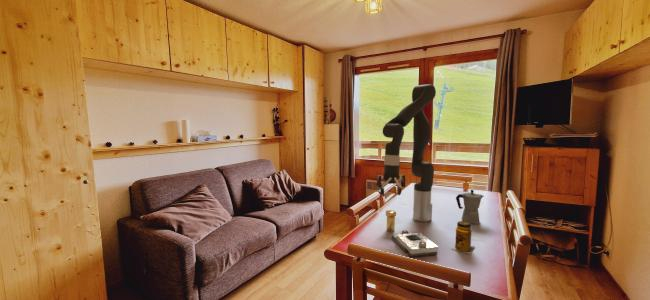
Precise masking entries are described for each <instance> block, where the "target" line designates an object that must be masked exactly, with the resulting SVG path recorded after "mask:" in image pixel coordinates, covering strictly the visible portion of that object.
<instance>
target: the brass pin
mask: <svg viewBox="0 0 650 300" xmlns="http://www.w3.org/2000/svg"><path fill="white" fill-rule="evenodd" d="M385 216H386V232H388V233H394V232H395V228H396V227H395V225H396V221H395V220H396V216H397V212H396V211H395V210H392V209H391V210H385Z"/></svg>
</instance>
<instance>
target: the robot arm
mask: <svg viewBox="0 0 650 300" xmlns="http://www.w3.org/2000/svg"><path fill="white" fill-rule="evenodd" d="M436 90H437V89H436V87H435V86H434V85H433V84H431V83H429V84H428V83H427V84H420V85H415V86H414V87H413V89H412V92H411V101H412V102H410V103H409V104H408V105H406V106H405V107H404V108H401V110H400V112H399V113H398V114H397V115H396V116H394V117H393V118H392V119H390V120H389V121H388V122H386V123H385V124H384V126H383V128H382V135H383V136H384V137H385V138H389V139H390V138H391V139H392V140H391V141H389V142H387V143H385V146H384V147H385V148H384V149H385V151H384V158H383V160H384V161H383V162H384V163H383V175H380V174H378V175H377V178H376V187H377V188H380V190H379V191H380V192H379V193H380V195H381V196H385V187H386V186H387V185H388V184H389V185H392V184H394V185H396V186H397V189H396V194H397V196H401V194H402V188H404V187H406V175H405V174H403V173H402V174H400V163H401V162H400V161H401V158H400V152H401V151H400V150H401V145H402V141H403V139H404V136H405V128H404V127H407V126H408V125H409V123H410V122H411V121H413V130H412V131H413V134H412V136H413V137H412V139H413V142H412V143H413V146H412V148H413V149H412V158H411V159H412V160H411V173H412V175H413V176H414V177H417V178H420V182H417V183H415V184H414V185H413V205H412V206H413V208H412V209H413V214H412V219H413V220H414V221H417V222H421V223H423V222H425V223H428V222H429V221H432V219H433V218H432V217H433V203H431V202H432V187H433V184H434V178H435V177H434V176H435V168H434V165H433V163H432V162H430V161H429V162H427V161H424V153H425V150H426V148H427V146H428V144H429V143H430V141H431V138H432V127H431V123H430V121H429V119H428V117H427V116H426V114H425V112H424V108H425V107H426V106H427V105H428V104H430V103H431V102H432V101H433V100H434V99H435V97H436V96H437V95H436V93H437V91H436ZM382 180H383V181H382ZM399 180H400V182H399Z"/></svg>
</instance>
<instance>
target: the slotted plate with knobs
mask: <svg viewBox="0 0 650 300" xmlns="http://www.w3.org/2000/svg"><path fill="white" fill-rule="evenodd" d="M391 240H393V241H394V242H395V243H396V244H397V246H399V247H400V248H401V249H402V251H404V253H408V257H409V258H414V257H415V258H416V257H424V256H425V257H426V256H434V255H435V256H436V255H437V254H438V252H439V246H438V245H437V244H435V242H433V241H432V240H431V239H429V238H428V237H427V236H425V235H424V234H422V232H415V231H411V232H409V231H408V230H404V229H403V230H401V232H400V233H399V232H398V233H391Z"/></svg>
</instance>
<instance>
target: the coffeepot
mask: <svg viewBox="0 0 650 300" xmlns="http://www.w3.org/2000/svg"><path fill="white" fill-rule="evenodd" d="M483 197H484V195H483V194H481V193H480V194H479V193H474V189H470V192H465V193H459V194H457V195H456V197H455V200H456V203H457V207H458V209H460V210H461V209H462V210H463V212H462V215H461V221H465V222H468V223H470V224H471V225H479V224H480V223H481V222H480V214H479V208H480V206H481V205H480V204H481V202H482V199H483ZM460 198H463V199H462V200H463V206H462V204H461V201H460V200H461V199H460Z"/></svg>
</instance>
